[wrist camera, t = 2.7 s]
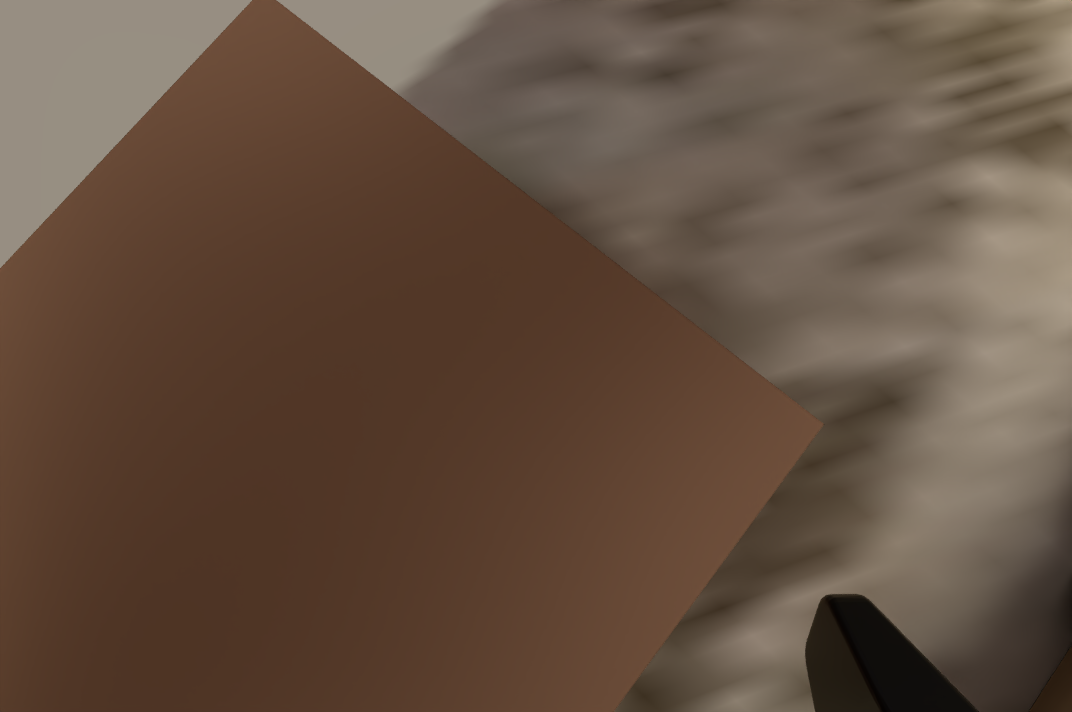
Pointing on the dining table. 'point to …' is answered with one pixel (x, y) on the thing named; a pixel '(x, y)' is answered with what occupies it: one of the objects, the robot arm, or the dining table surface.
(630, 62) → the dining table surface
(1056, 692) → the cart
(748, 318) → the dining table surface
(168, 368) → the brown square pillar
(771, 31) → the dining table surface
